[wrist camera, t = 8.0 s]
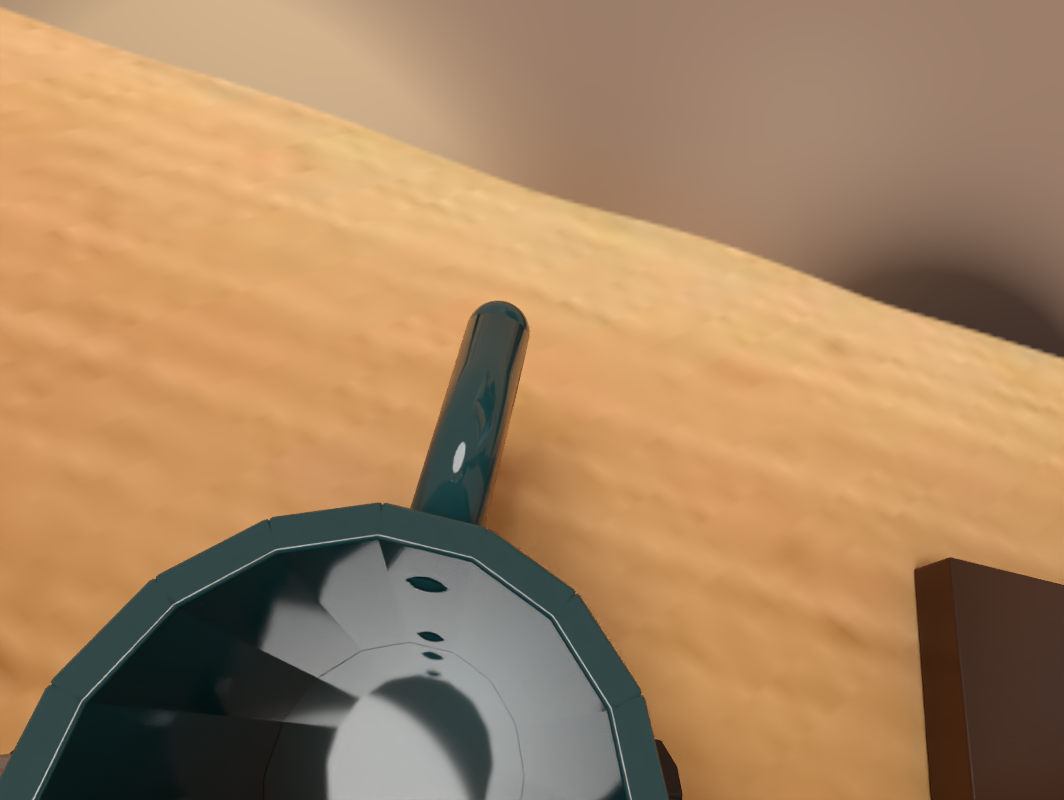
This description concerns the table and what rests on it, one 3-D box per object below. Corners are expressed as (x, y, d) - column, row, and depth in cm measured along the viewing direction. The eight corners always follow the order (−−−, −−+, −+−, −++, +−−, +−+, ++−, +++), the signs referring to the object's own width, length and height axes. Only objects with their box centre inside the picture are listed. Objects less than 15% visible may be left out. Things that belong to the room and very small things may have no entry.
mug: (503, 989, 14) (625, 1449, 5) (197, 918, 14) (-253, 1260, 5) (589, 495, 19) (724, 283, 10) (368, 442, 19) (307, 178, 10)
